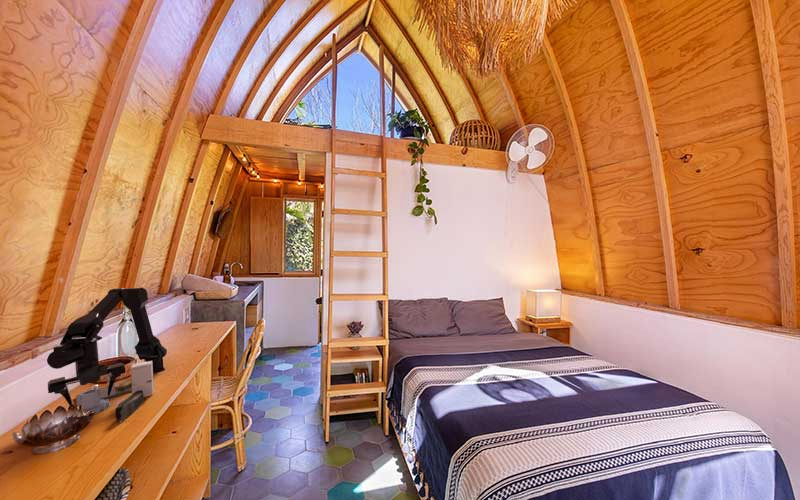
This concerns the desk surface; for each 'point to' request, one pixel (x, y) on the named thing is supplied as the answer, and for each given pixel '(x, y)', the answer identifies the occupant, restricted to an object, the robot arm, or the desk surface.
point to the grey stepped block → (93, 401)
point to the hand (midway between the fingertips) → (90, 400)
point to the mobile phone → (129, 405)
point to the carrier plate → (117, 389)
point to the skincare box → (142, 378)
